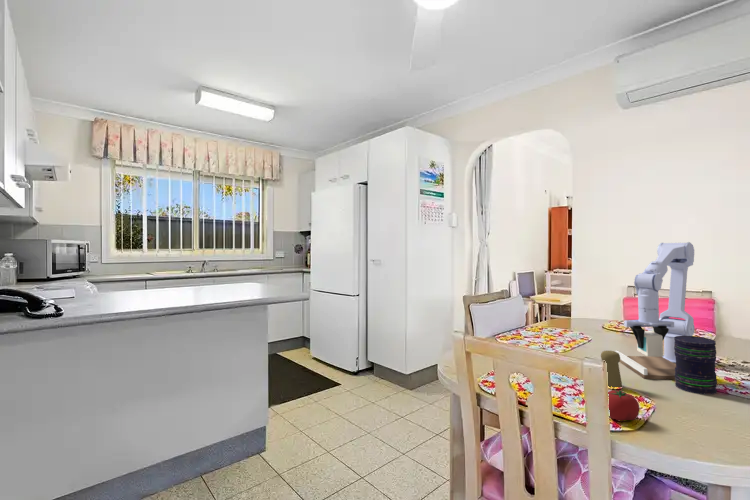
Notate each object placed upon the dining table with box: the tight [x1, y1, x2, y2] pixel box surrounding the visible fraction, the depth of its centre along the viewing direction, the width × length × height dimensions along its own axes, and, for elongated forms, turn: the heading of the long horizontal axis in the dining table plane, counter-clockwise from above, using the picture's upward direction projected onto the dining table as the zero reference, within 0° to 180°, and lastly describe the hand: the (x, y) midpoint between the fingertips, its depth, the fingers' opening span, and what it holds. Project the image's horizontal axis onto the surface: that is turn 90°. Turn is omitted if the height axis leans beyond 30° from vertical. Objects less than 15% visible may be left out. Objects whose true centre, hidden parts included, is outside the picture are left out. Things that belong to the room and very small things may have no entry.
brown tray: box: [614, 350, 676, 381], centre depth 134 cm, size 16×22×3 cm
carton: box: [636, 330, 664, 357], centre depth 131 cm, size 5×7×7 cm
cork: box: [600, 350, 623, 387], centre depth 119 cm, size 6×6×11 cm
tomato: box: [608, 390, 641, 422], centre depth 98 cm, size 8×8×7 cm
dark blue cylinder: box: [674, 335, 718, 396], centre depth 115 cm, size 10×10×15 cm
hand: (649, 347), depth 131 cm, fingers closed on carton, 5 cm apart
